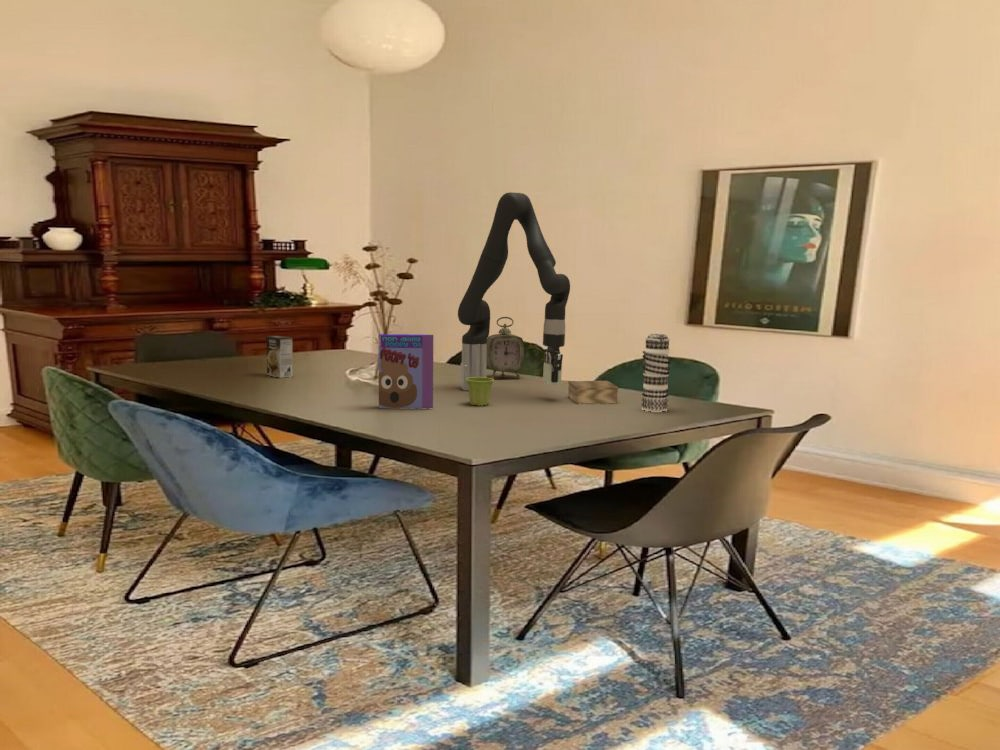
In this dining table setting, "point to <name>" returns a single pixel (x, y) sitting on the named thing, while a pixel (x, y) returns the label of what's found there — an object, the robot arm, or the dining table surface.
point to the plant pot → (479, 390)
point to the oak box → (593, 391)
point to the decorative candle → (656, 373)
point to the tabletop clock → (505, 351)
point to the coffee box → (279, 356)
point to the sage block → (547, 375)
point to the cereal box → (405, 371)
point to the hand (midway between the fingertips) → (552, 380)
